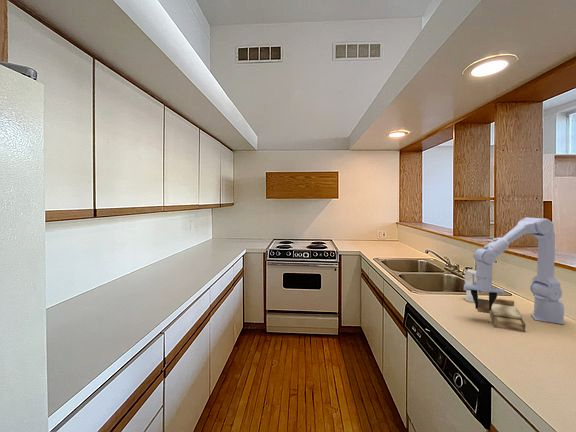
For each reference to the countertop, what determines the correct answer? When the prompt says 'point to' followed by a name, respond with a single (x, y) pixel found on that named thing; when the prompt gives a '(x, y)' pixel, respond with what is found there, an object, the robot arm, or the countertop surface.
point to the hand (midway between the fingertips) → (482, 308)
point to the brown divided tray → (507, 322)
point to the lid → (505, 309)
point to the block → (483, 305)
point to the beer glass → (470, 283)
